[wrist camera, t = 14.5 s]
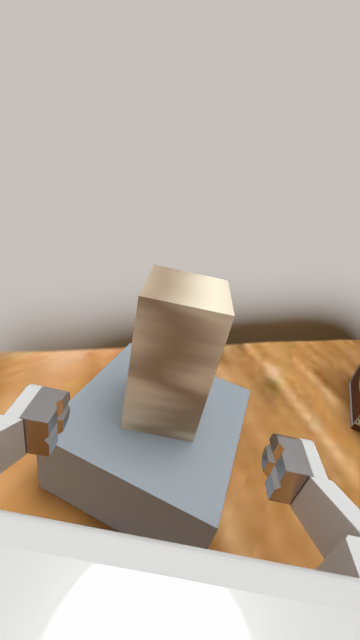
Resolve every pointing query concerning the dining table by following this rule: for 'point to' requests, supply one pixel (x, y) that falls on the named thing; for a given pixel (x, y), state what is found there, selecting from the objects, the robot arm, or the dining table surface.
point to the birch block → (175, 351)
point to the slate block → (145, 462)
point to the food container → (355, 399)
